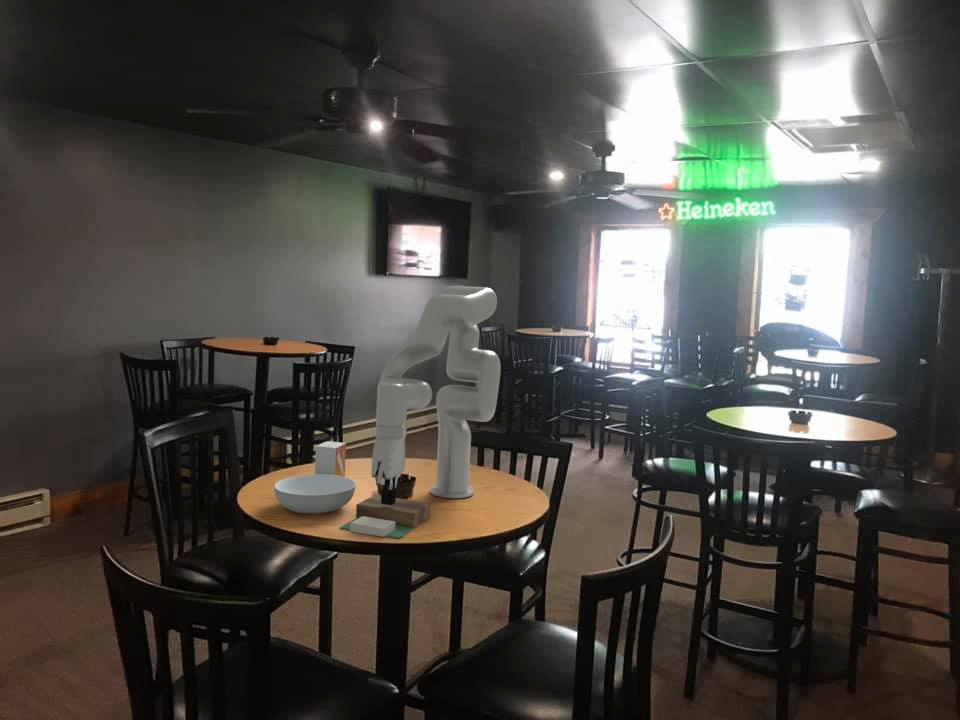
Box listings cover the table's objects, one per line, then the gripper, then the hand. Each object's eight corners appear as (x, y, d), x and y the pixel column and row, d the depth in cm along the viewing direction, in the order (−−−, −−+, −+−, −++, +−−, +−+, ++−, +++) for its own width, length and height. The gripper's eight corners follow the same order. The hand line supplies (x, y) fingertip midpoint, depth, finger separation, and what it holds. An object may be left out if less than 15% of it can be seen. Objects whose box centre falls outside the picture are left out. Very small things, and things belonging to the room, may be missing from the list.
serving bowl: (305, 494, 209) (305, 470, 208) (369, 505, 201) (370, 480, 200) (256, 513, 190) (256, 486, 189) (325, 526, 182) (326, 499, 181)
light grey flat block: (350, 522, 178) (350, 530, 178) (383, 528, 175) (383, 536, 175) (362, 516, 183) (362, 524, 183) (395, 521, 180) (395, 529, 180)
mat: (355, 520, 188) (355, 518, 188) (413, 529, 182) (413, 528, 182) (339, 528, 180) (339, 527, 180) (399, 539, 175) (399, 537, 175)
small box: (334, 493, 211) (336, 448, 210) (313, 491, 212) (315, 446, 211) (345, 486, 219) (346, 442, 218) (325, 484, 220) (326, 440, 219)
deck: (374, 509, 197) (375, 494, 197) (429, 518, 192) (430, 503, 191) (356, 519, 188) (356, 504, 187) (413, 529, 182) (414, 513, 182)
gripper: (391, 425, 193) (388, 494, 195) (362, 434, 179) (360, 509, 181) (417, 428, 190) (414, 498, 192) (390, 438, 176) (387, 513, 178)
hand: (388, 503), depth 186 cm, fingers closed
